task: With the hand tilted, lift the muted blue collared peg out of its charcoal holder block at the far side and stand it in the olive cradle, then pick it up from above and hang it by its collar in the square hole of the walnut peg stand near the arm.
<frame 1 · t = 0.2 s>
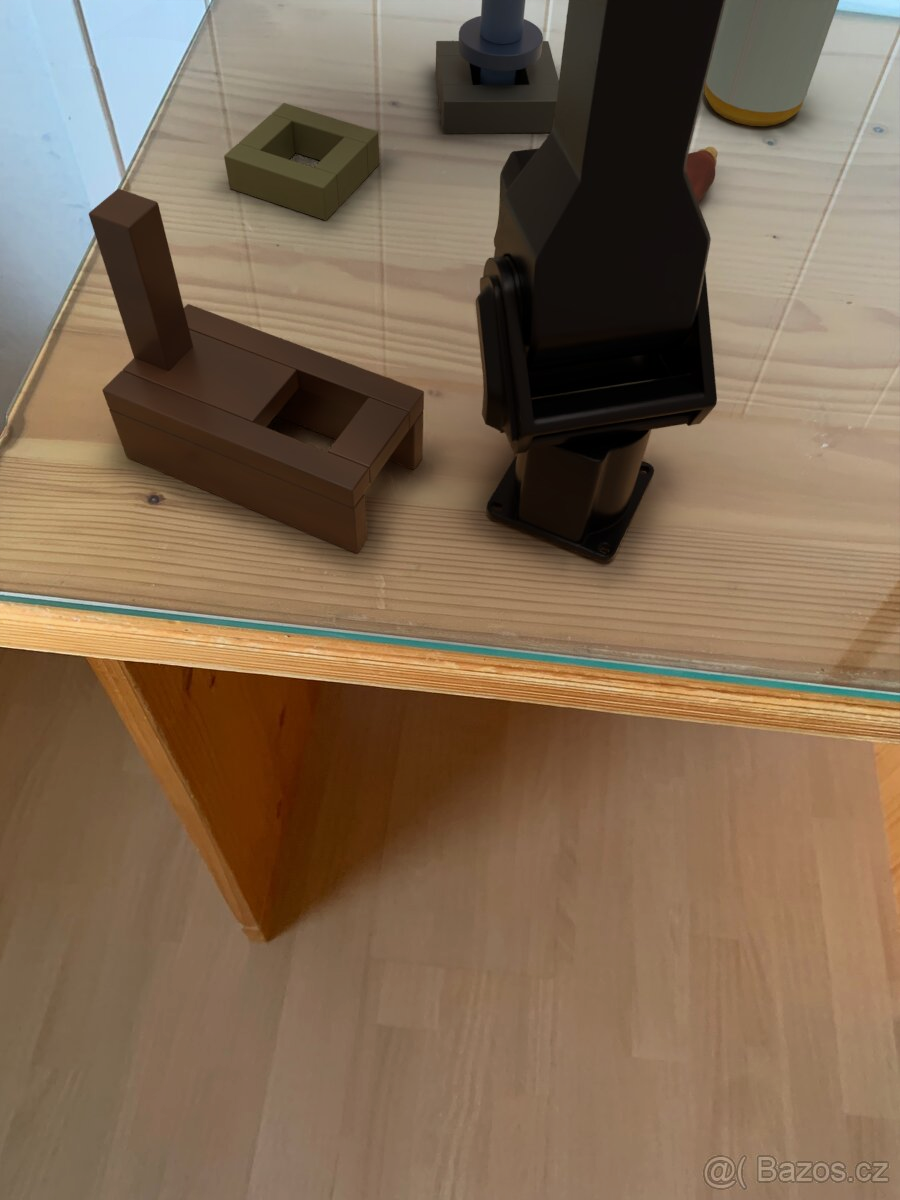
gavel: (647, 253, 57), on the table
peg: (495, 102, 66), resting in holder
holder: (495, 101, 66), on the table
cradle: (305, 176, 60), on the table
bottle: (749, 106, 67), on the table
stand: (319, 474, 46), on the table
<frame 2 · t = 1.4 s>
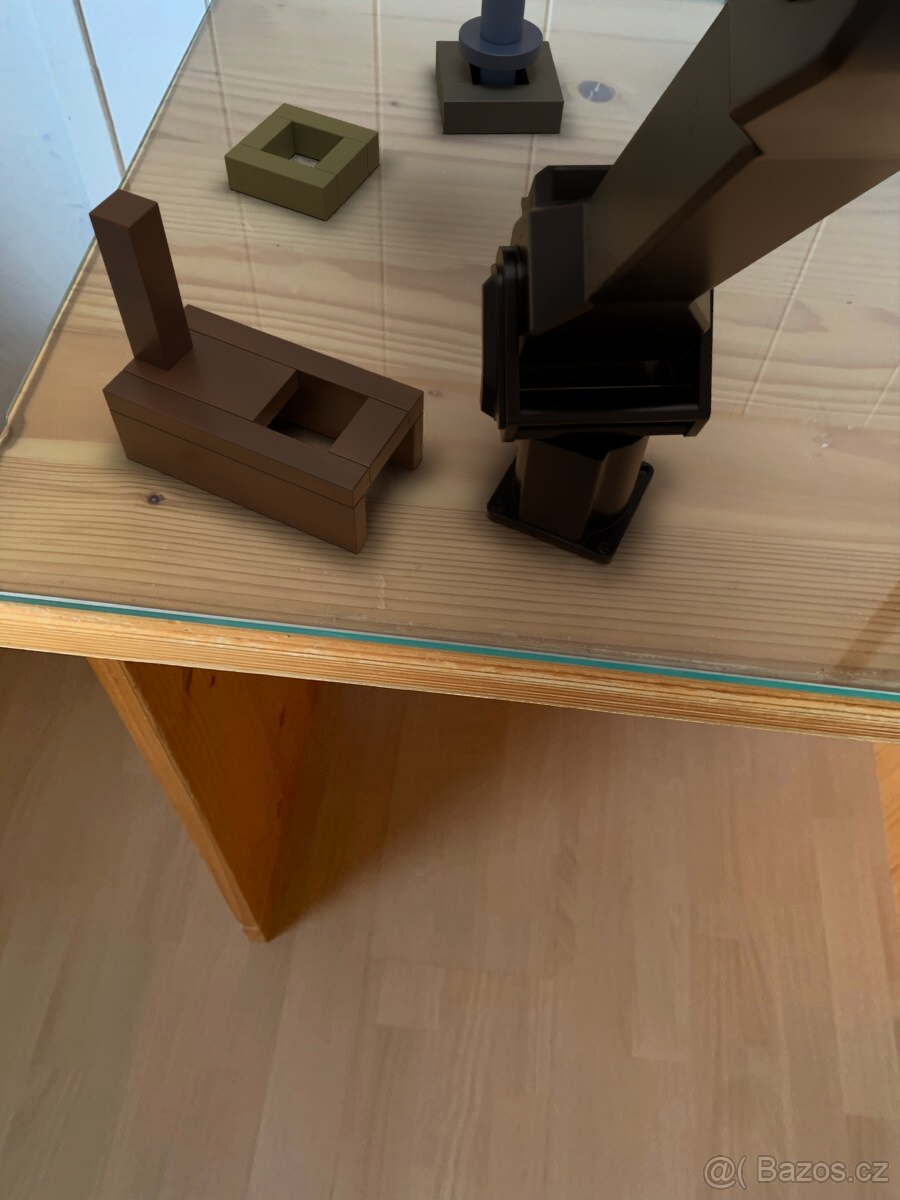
nothing on the table moved.
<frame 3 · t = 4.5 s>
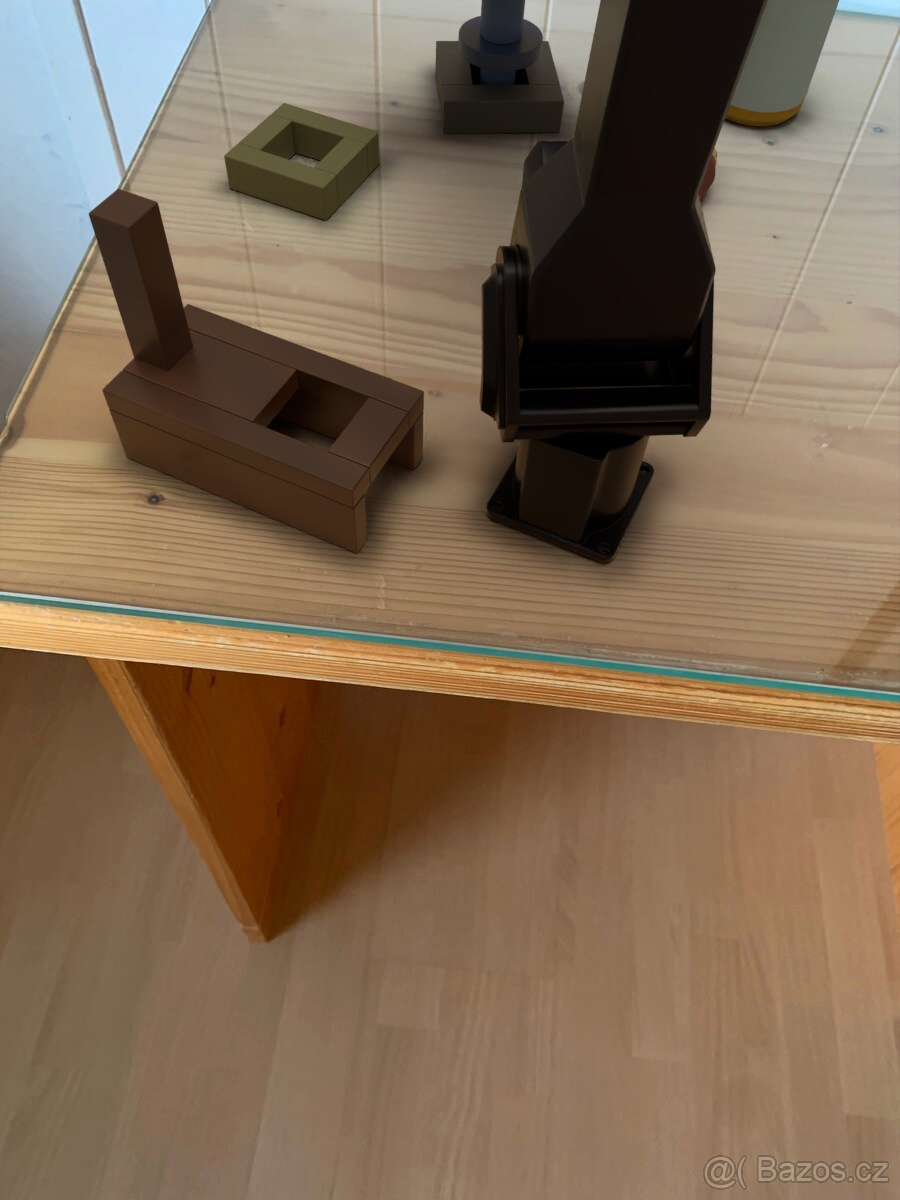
peg: (495, 101, 66), resting in holder, touching gripper
everything else where it was.
when the fingers open (7 cm above the table, at t = 11.5 s): peg stays where it is, resting in cradle.
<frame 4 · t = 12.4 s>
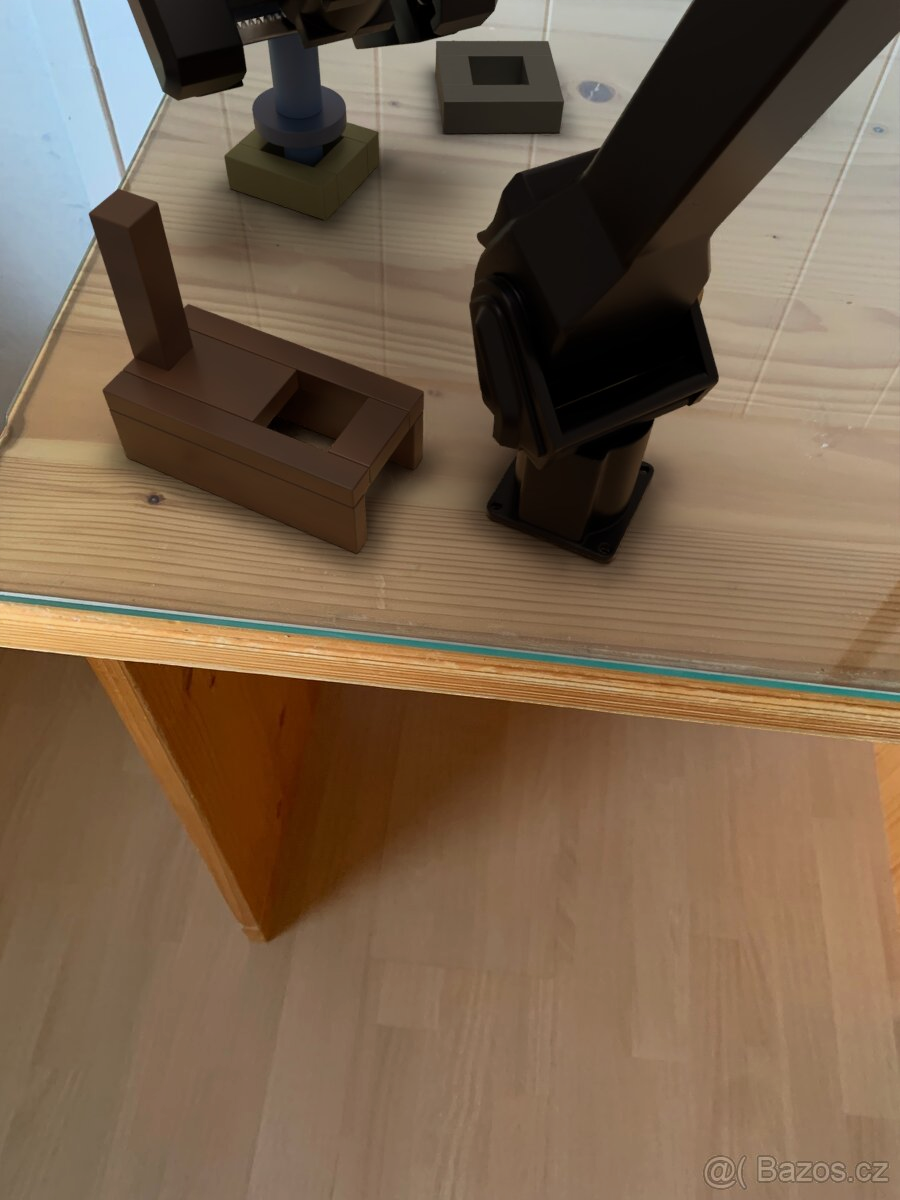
hand: (285, 56, 55), 7 cm above the table, tool tilted 45°, fingers open, 9 cm apart
peg: (306, 176, 60), resting in cradle
everything else where it was.
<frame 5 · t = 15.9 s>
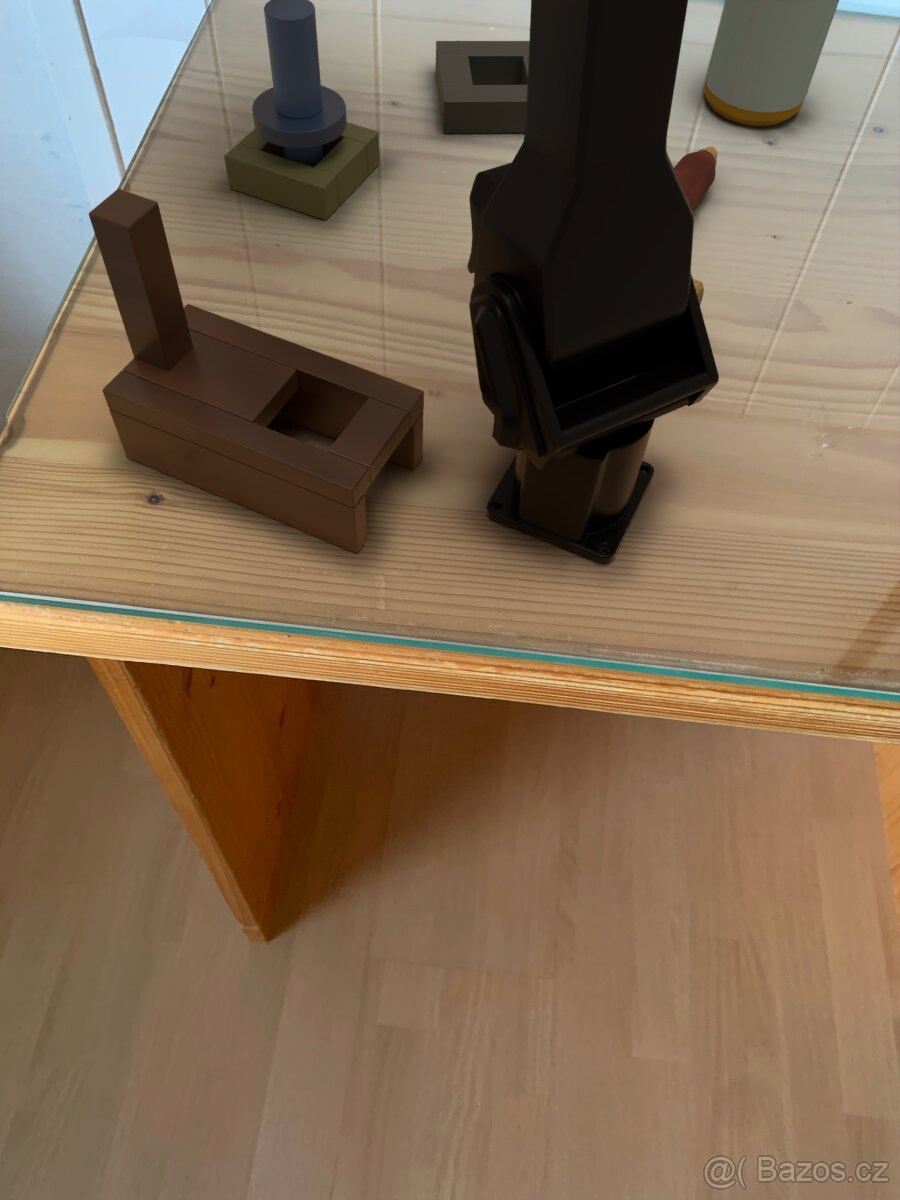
nothing on the table moved.
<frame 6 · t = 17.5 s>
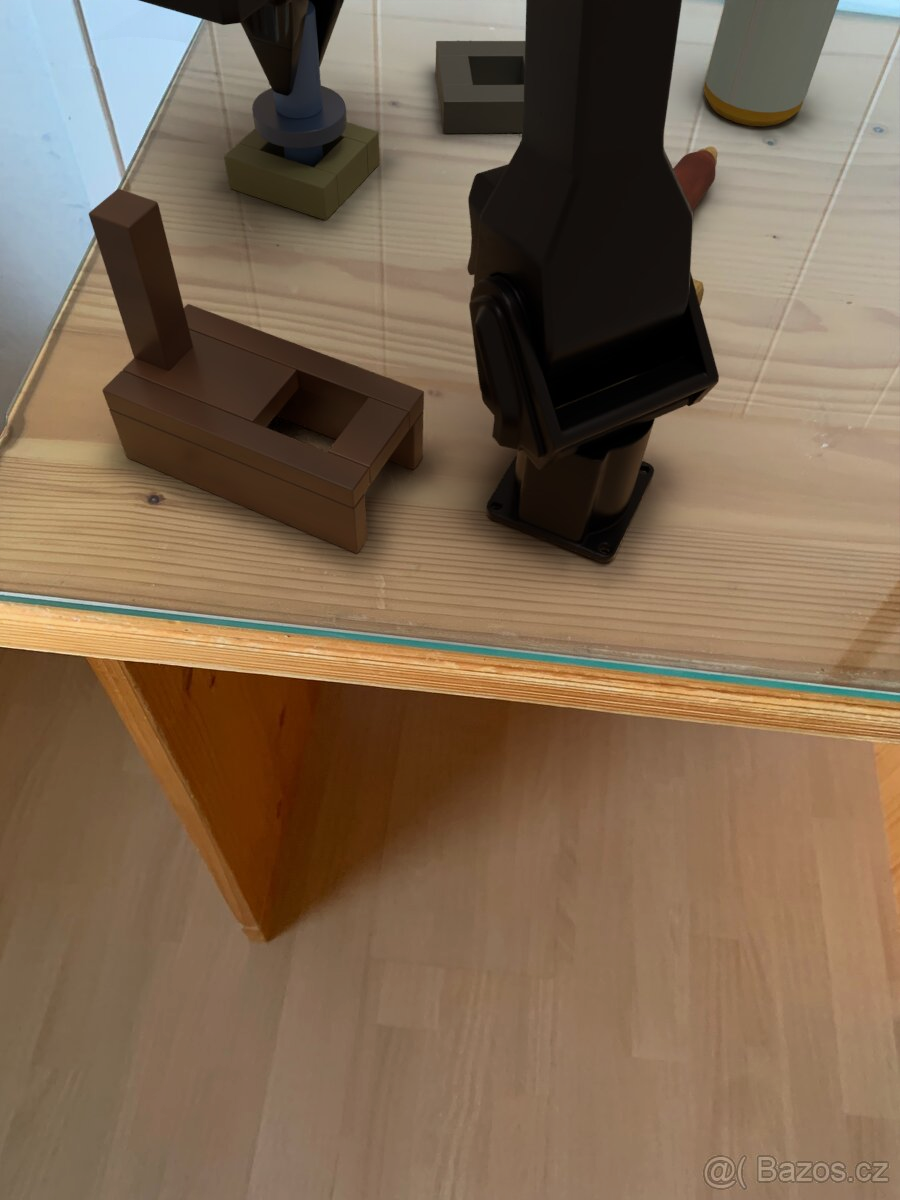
hand: (296, 80, 55), 6 cm above the table, tool pointing down, fingers closed on peg, 3 cm apart
peg: (305, 176, 60), resting in cradle, touching gripper
everything else where it was.
when the fingers open (7 cm above the table, at t = 23.3 s): peg stays where it is, resting on stand.
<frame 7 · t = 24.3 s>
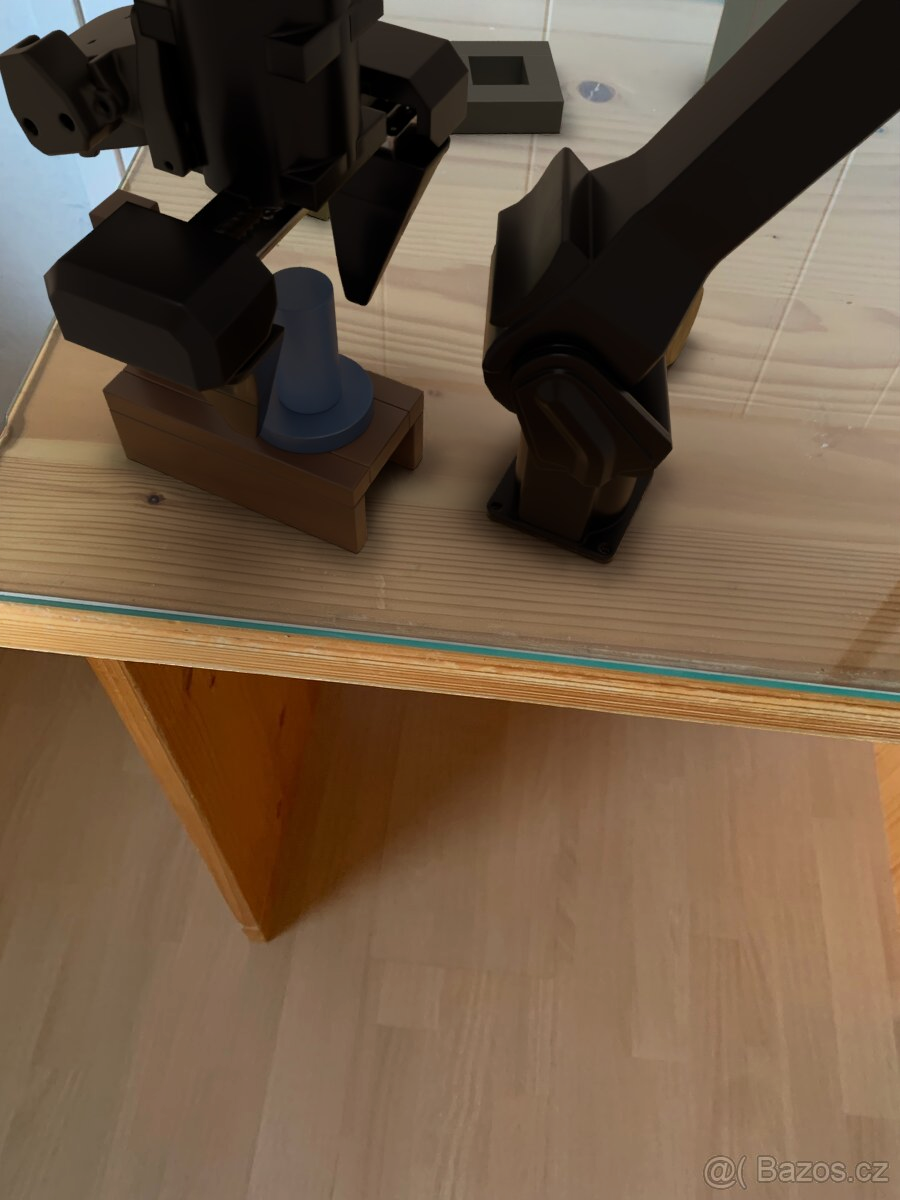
hand: (305, 363, 40), 7 cm above the table, tool pointing down, fingers open, 9 cm apart
peg: (318, 461, 45), point 1 cm above the table, touching stand
everything else where it was.
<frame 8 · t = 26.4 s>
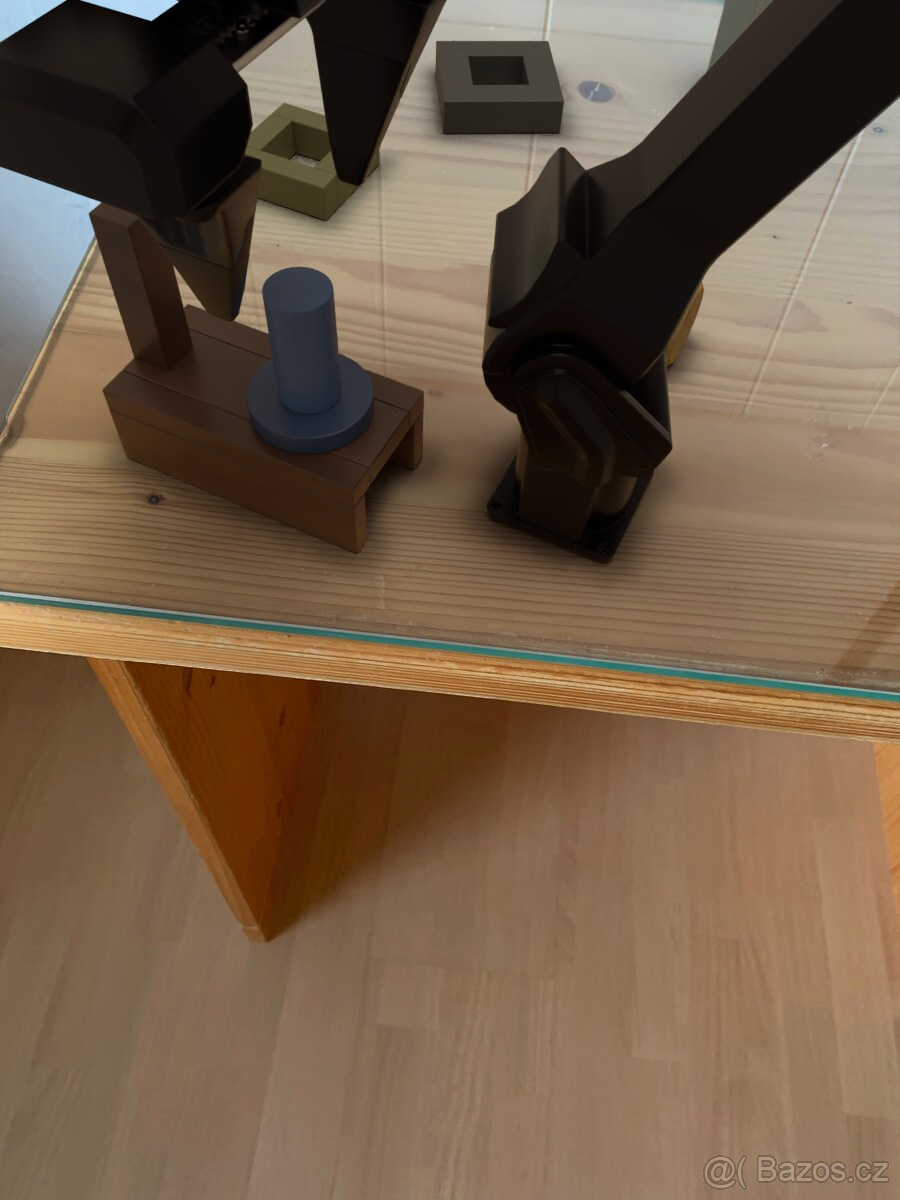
hand: (291, 244, 35), 13 cm above the table, tool pointing down, fingers open, 9 cm apart
nothing on the table moved.
at the end: peg 0.0 cm off-centre on the stand, point 1.0 cm above the stand's base; peg touching stand; peg tilted 0° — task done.
